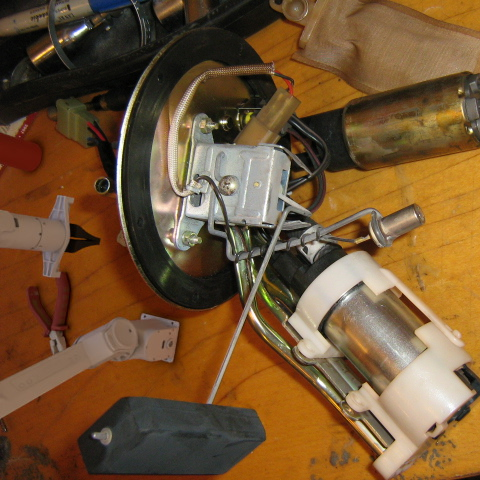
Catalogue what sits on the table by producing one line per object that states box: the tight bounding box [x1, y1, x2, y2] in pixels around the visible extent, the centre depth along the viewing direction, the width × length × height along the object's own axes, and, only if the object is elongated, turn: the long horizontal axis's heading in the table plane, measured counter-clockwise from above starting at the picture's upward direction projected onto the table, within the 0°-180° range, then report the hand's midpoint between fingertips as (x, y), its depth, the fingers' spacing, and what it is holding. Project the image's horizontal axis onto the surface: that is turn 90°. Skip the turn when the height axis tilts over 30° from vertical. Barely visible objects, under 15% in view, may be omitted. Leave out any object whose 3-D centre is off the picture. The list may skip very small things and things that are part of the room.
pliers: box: [25, 271, 70, 355], centre depth 101 cm, size 12×20×3 cm, turn 20°
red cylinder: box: [0, 132, 43, 172], centre depth 106 cm, size 7×7×11 cm
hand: (96, 240), depth 90 cm, fingers closed
